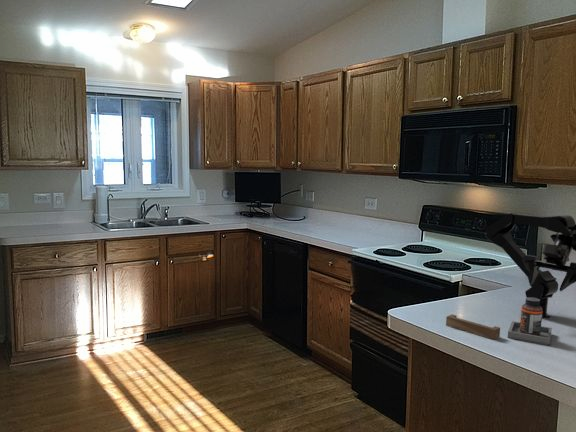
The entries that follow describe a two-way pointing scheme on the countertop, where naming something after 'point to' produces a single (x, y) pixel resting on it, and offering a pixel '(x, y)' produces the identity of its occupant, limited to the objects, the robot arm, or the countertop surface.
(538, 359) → the countertop surface
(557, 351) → the countertop surface
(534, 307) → the supplement bottle
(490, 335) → the wooden dock
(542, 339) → the grey square tray
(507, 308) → the countertop surface
